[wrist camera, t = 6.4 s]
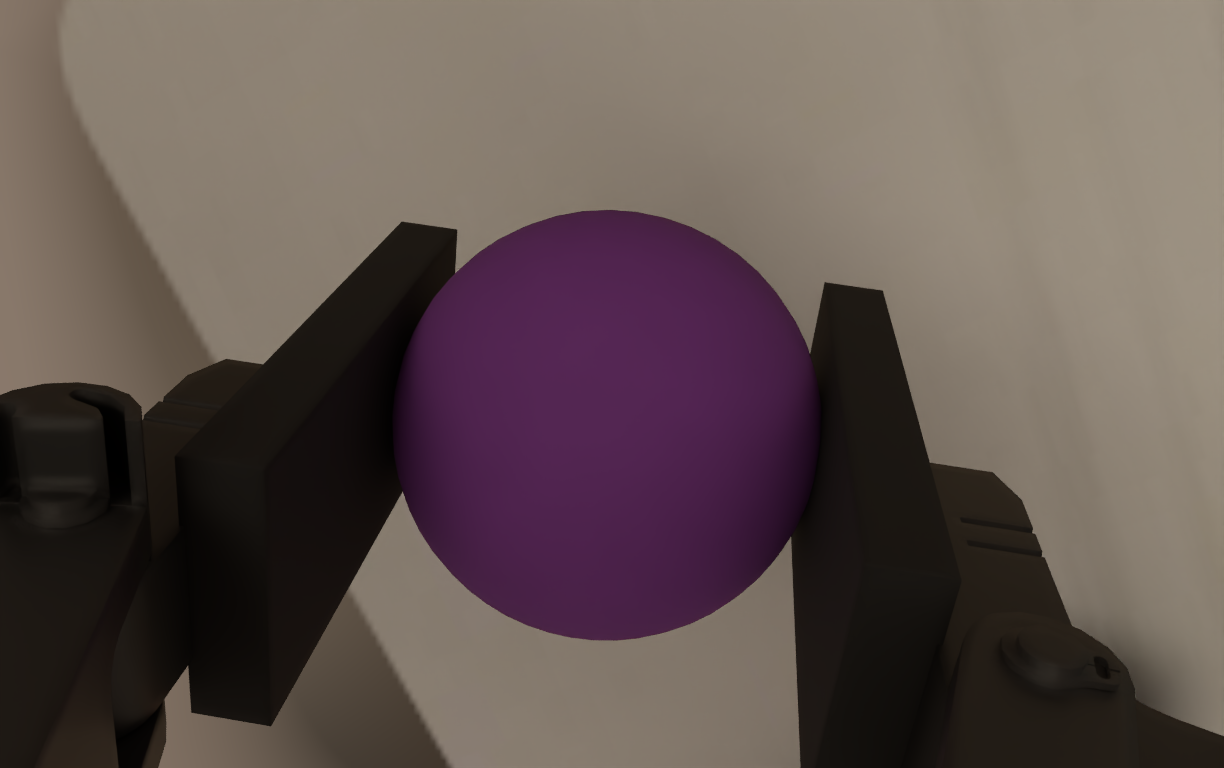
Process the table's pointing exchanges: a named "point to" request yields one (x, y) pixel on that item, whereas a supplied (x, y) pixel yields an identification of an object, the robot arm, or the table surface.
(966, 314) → the table surface
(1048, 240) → the table surface
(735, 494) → the ball
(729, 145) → the table surface
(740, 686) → the table surface
